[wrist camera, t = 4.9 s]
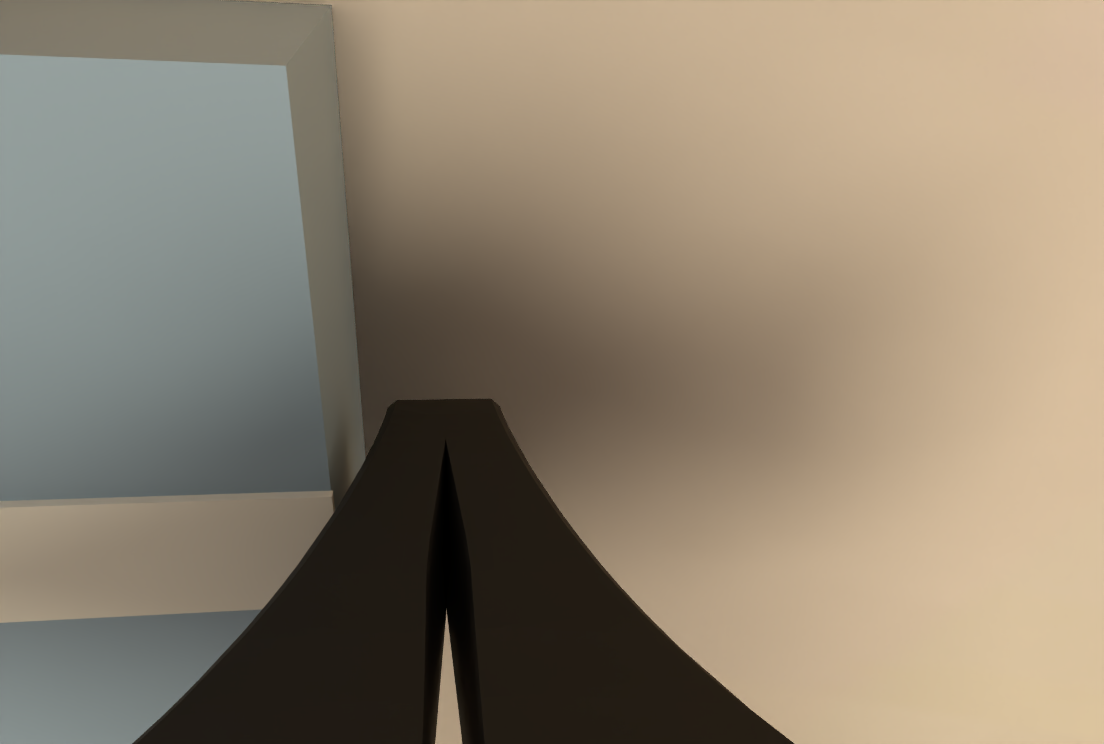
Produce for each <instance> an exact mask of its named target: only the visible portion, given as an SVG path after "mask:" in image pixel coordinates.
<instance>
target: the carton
mask: <svg viewBox="0 0 1104 744" xmlns="http://www.w3.org/2000/svg"><path fill="white" fill-rule="evenodd" d="M365 459H366V458H365V444H364V431H363V418H362V404H361V391H360V378H359V365H358V351H357V338H356V325H355V311H354V298H353V285H352V271H351V258H350V245H349V232H348V218H347V205H346V192H345V178H344V165H343V152H342V138H341V125H340V112H339V98H338V85H337V72H336V59H335V45H334V32H333V19H332V5H314V4H294V3H274V2H254V1H234V0H0V744H132V743H133V742H134V741H136V740H137V739H138V738H139V737H140V736H141V735H142V734H143V733H144V732H145V731H146V730H148V729H149V728H150V727H151V726H152V725H153V724H154V723H155V722H156V721H157V720H158V719H160V718H161V717H162V716H163V715H164V714H165V713H166V712H167V711H168V710H169V709H170V708H171V707H172V706H173V705H174V704H175V703H176V702H177V701H178V700H179V699H180V698H181V697H182V696H183V695H184V694H185V693H186V692H187V691H188V690H189V689H190V688H191V687H192V686H193V685H194V684H195V683H196V682H197V681H198V680H199V679H200V678H201V677H202V676H203V675H204V673H205V672H206V671H207V670H208V669H209V668H210V667H211V666H212V665H213V664H214V663H215V662H216V661H217V659H218V658H219V657H220V656H221V655H222V654H223V653H224V652H225V651H226V650H227V649H228V648H229V647H230V645H231V644H232V643H233V642H234V641H235V640H236V639H237V638H238V637H239V636H240V635H241V634H242V632H243V631H244V630H245V629H246V628H247V627H248V626H249V624H250V623H251V622H252V621H253V620H254V618H255V617H256V616H257V615H258V614H259V613H260V611H261V610H262V609H263V608H264V607H265V605H266V604H267V603H268V602H269V601H270V599H271V598H272V597H273V596H274V594H275V593H276V592H277V591H278V589H279V588H280V587H281V586H282V584H283V583H284V582H285V581H286V579H287V578H288V577H289V575H290V574H291V573H292V571H293V570H294V569H295V568H296V566H297V565H298V564H299V562H300V561H301V559H302V558H303V557H304V555H305V554H306V552H307V551H308V549H309V548H310V546H311V545H312V544H313V542H314V541H315V539H316V538H317V536H318V535H319V534H320V532H321V531H322V529H323V528H324V526H325V525H326V524H327V522H328V521H329V519H330V518H331V516H332V515H333V513H334V512H335V510H336V509H337V507H338V505H339V504H340V502H341V500H342V499H343V497H344V495H345V494H346V492H347V490H348V489H349V487H350V485H351V484H352V482H353V480H354V478H355V477H356V475H357V473H358V472H359V470H360V468H361V467H362V465H363V463H364V461H365Z"/></svg>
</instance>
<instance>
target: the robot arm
mask: <svg viewBox="0 0 1104 744" xmlns="http://www.w3.org/2000/svg"><path fill="white" fill-rule="evenodd" d="M446 608H447V616H448V625H449V633H450V642H451V650H452V659H453V667H454V675H455V684H456V692H457V700H458V709H459V717H460V726H461V734H462V742H463V744H794V743H793V742H792V741H790V740H789V739H788V738H786V737H785V736H784V735H782V734H781V733H780V732H779V731H777V730H776V729H775V728H773V727H772V726H771V725H770V724H768V723H767V722H766V721H764V720H763V719H762V718H761V717H759V716H758V715H757V714H755V713H754V712H753V711H752V710H750V709H749V708H748V707H747V706H746V705H745V704H744V703H742V702H741V701H740V700H739V699H738V698H737V697H736V696H734V695H733V694H732V693H731V692H730V691H729V690H728V689H726V688H725V687H724V686H723V685H722V684H721V683H720V682H718V681H717V680H716V679H715V678H714V677H713V676H712V675H710V674H709V673H708V672H707V671H706V670H705V669H703V668H702V667H701V666H700V665H699V664H698V663H697V662H695V661H694V660H693V659H692V658H691V657H690V656H689V655H687V654H686V653H685V652H684V651H683V650H682V649H681V648H680V647H679V646H678V645H677V644H676V643H675V642H674V641H673V640H672V639H671V638H669V637H668V636H667V635H666V634H665V633H664V632H663V631H662V630H661V629H660V628H659V627H658V626H657V625H656V624H655V623H654V622H653V621H652V620H651V619H650V618H649V617H648V616H647V615H646V614H645V613H644V612H643V610H642V609H641V608H640V607H639V606H638V605H637V604H636V603H635V602H634V601H633V600H632V599H631V598H630V597H629V595H628V594H627V593H626V592H625V591H624V590H623V589H622V588H621V587H620V586H619V585H618V583H617V582H616V581H615V580H614V579H613V578H612V577H611V575H610V574H609V573H608V572H607V571H606V570H605V568H604V567H603V566H602V565H601V564H600V562H599V561H598V560H597V559H596V558H595V556H594V555H593V554H592V553H591V551H590V550H589V549H588V548H587V546H586V545H585V544H584V542H583V541H582V540H581V539H580V537H579V536H578V535H577V533H576V532H575V531H574V530H573V528H572V527H571V526H570V524H569V523H568V521H567V520H566V519H565V517H564V516H563V515H562V513H561V512H560V510H559V509H558V508H557V506H556V505H555V503H554V502H553V500H552V499H551V497H550V496H549V494H548V493H547V491H546V490H545V488H544V487H543V485H542V484H541V482H540V481H539V479H538V478H537V476H536V475H535V473H534V471H533V470H532V468H531V467H530V465H529V463H528V462H527V460H526V458H525V456H524V455H523V453H522V451H521V449H520V448H519V446H518V444H517V442H516V440H515V439H514V437H513V435H512V433H511V431H510V429H509V427H508V425H507V423H506V420H505V418H504V416H503V414H502V411H501V408H500V406H499V405H498V404H497V403H496V402H494V401H493V400H492V399H444V400H397V401H395V402H394V403H393V404H392V405H391V406H390V407H388V409H387V412H386V415H385V418H384V421H383V423H382V426H381V428H380V431H379V433H378V435H377V437H376V439H375V441H374V443H373V446H372V447H371V449H370V451H369V453H368V455H367V457H366V459H365V461H364V463H363V465H362V467H361V468H360V470H359V472H358V473H357V475H356V477H355V478H354V480H353V482H352V484H351V485H350V487H349V489H348V490H347V492H346V494H345V495H344V497H343V499H342V500H341V502H340V504H339V505H338V507H337V509H336V510H335V512H334V513H333V515H332V516H331V518H330V519H329V521H328V522H327V524H326V525H325V526H324V528H323V529H322V531H321V532H320V534H319V535H318V536H317V538H316V539H315V541H314V542H313V544H312V545H311V546H310V548H309V549H308V551H307V552H306V554H305V555H304V557H303V558H302V559H301V561H300V562H299V564H298V565H297V566H296V568H295V569H294V570H293V571H292V573H291V574H290V575H289V577H288V578H287V579H286V581H285V582H284V583H283V584H282V586H281V587H280V588H279V589H278V591H277V592H276V593H275V594H274V596H273V597H272V598H271V599H270V601H269V602H268V603H267V604H266V605H265V607H264V608H263V609H262V610H261V611H260V613H259V614H258V615H257V616H256V617H255V618H254V620H253V621H252V622H251V623H250V624H249V626H248V627H247V628H246V629H245V630H244V631H243V632H242V634H241V635H240V636H239V637H238V638H237V639H236V640H235V641H234V642H233V643H232V644H231V645H230V647H229V648H228V649H227V650H226V651H225V652H224V653H223V654H222V655H221V656H220V657H219V658H218V659H217V661H216V662H215V663H214V664H213V665H212V666H211V667H210V668H209V669H208V670H207V671H206V672H205V673H204V675H203V676H202V677H201V678H200V679H199V680H198V681H197V682H196V683H195V684H194V685H193V686H192V687H191V688H190V689H189V690H188V691H187V692H186V693H185V694H184V695H183V696H182V697H181V698H180V699H179V700H178V701H177V702H176V703H175V704H174V705H173V706H172V707H171V708H170V709H169V710H168V711H167V712H166V713H165V714H164V715H163V716H162V717H161V718H160V719H158V720H157V721H156V722H155V723H154V724H153V725H152V726H151V727H150V728H149V729H148V730H146V731H145V732H144V733H143V734H142V735H141V736H140V737H139V738H138V739H137V740H136V741H134V742H133V743H132V744H435V737H436V726H437V714H438V702H439V690H440V679H441V667H442V655H443V643H444V632H445V620H446Z"/></svg>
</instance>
